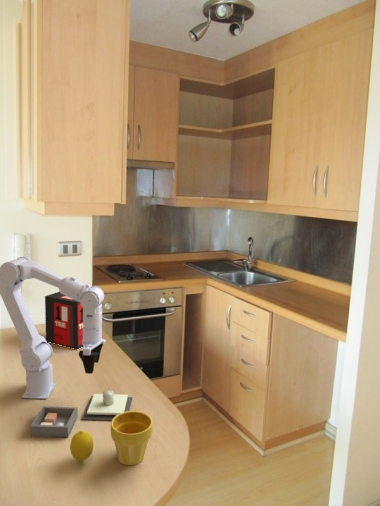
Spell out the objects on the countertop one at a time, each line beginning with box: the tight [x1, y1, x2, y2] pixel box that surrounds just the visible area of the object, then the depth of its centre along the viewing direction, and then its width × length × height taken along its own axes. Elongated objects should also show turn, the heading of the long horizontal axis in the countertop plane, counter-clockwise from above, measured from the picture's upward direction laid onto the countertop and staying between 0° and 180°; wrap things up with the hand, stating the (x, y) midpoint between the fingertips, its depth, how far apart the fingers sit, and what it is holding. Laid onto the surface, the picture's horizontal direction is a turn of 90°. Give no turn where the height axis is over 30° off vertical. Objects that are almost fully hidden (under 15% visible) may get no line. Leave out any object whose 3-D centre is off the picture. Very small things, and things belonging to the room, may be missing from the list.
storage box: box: [30, 405, 79, 439], centre depth 118 cm, size 10×10×3 cm
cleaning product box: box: [44, 291, 83, 350], centre depth 176 cm, size 16×9×20 cm, turn 66°
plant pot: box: [110, 410, 154, 466], centre depth 106 cm, size 10×10×10 cm
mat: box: [81, 395, 133, 422], centre depth 128 cm, size 13×13×1 cm
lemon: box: [69, 430, 94, 462], centre depth 104 cm, size 6×6×8 cm
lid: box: [87, 389, 129, 415], centre depth 128 cm, size 11×11×5 cm
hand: (92, 367), depth 133 cm, fingers open, 7 cm apart
